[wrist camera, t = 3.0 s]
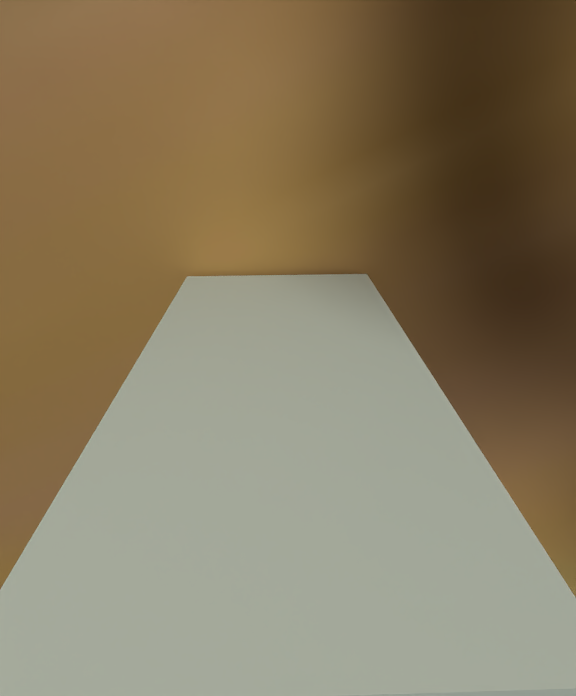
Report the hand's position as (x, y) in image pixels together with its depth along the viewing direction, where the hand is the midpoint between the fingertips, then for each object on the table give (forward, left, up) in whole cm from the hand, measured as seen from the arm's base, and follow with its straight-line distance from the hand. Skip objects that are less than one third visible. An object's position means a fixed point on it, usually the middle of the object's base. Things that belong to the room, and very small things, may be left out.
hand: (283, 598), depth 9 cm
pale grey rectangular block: (0, 0, -2) cm, 2 cm away
